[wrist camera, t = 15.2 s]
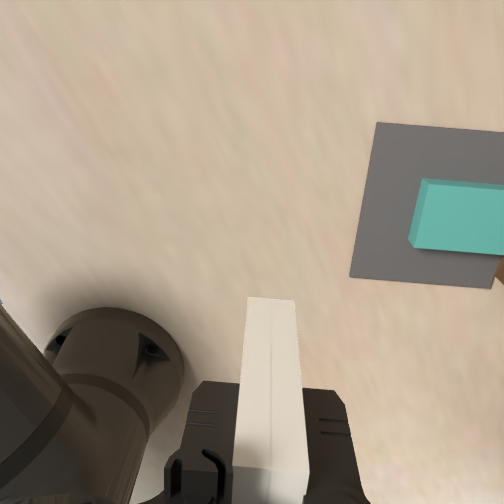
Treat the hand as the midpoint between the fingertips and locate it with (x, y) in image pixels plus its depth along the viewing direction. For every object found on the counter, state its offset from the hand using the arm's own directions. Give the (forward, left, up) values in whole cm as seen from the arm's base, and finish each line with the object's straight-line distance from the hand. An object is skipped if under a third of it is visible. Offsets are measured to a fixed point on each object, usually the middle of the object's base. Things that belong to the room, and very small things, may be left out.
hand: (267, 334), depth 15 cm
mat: (-4, -16, -28) cm, 33 cm away
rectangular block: (-4, -18, -28) cm, 34 cm away
